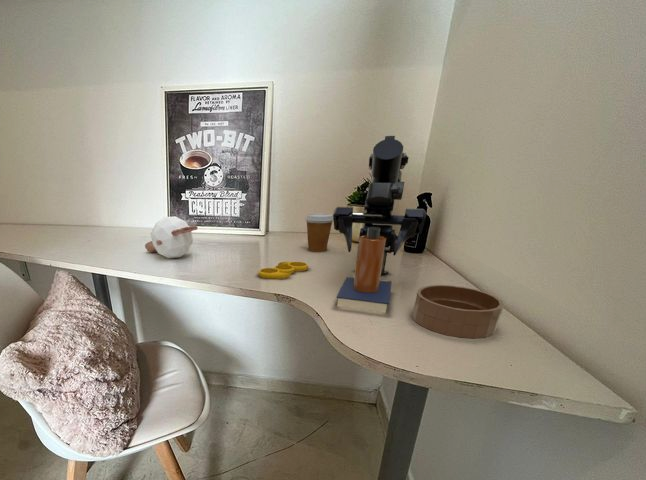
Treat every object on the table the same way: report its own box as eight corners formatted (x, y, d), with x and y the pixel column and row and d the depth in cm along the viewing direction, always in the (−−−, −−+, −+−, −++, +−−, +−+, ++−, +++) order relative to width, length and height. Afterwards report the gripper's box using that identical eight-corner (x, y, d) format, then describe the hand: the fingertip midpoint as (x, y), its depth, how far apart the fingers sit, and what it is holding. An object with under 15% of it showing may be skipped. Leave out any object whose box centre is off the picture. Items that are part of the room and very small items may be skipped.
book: (345, 288, 81) (346, 277, 80) (389, 293, 77) (391, 281, 76) (335, 309, 69) (336, 296, 68) (386, 316, 66) (389, 303, 65)
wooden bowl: (442, 306, 70) (448, 281, 68) (510, 331, 59) (520, 302, 57) (396, 318, 65) (401, 291, 63) (462, 348, 54) (471, 317, 52)
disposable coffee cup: (325, 254, 113) (328, 217, 108) (299, 251, 117) (301, 215, 113) (334, 248, 120) (337, 214, 115) (309, 245, 125) (311, 212, 120)
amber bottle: (374, 284, 74) (383, 225, 69) (381, 292, 70) (391, 229, 64) (350, 284, 75) (357, 225, 70) (356, 292, 70) (364, 230, 65)
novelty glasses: (249, 273, 94) (272, 282, 86) (249, 268, 93) (272, 276, 86) (293, 264, 102) (317, 271, 95) (293, 259, 102) (317, 266, 94)
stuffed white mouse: (173, 258, 126) (158, 222, 122) (215, 244, 108) (199, 202, 104) (142, 271, 117) (125, 232, 113) (182, 258, 99) (164, 212, 95)
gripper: (338, 168, 73) (324, 228, 68) (435, 166, 66) (426, 233, 61) (340, 202, 83) (328, 256, 78) (424, 204, 76) (417, 263, 71)
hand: (371, 252), depth 72 cm, fingers open, 9 cm apart
